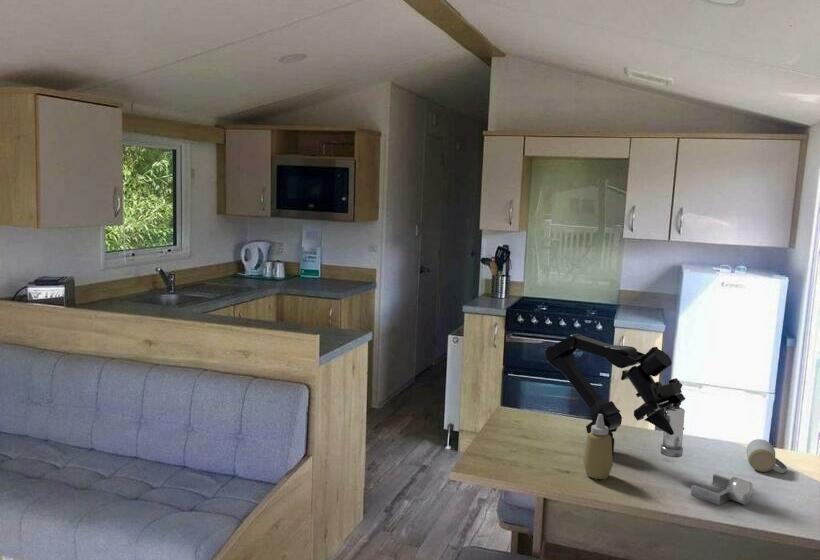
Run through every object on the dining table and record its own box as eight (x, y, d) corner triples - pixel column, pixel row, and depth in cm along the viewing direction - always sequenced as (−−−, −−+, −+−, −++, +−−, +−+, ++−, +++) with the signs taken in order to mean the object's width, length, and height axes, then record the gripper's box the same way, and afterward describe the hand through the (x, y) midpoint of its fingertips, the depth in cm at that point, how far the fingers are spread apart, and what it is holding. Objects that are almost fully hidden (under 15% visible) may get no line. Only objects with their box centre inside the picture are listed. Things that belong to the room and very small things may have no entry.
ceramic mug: (746, 470, 198) (749, 445, 196) (745, 460, 205) (747, 436, 204) (788, 478, 193) (791, 452, 192) (784, 467, 201) (787, 443, 200)
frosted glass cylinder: (664, 456, 188) (667, 411, 187) (657, 449, 194) (661, 405, 193) (685, 457, 188) (688, 412, 186) (678, 450, 194) (681, 406, 192)
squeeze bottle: (596, 484, 186) (599, 421, 184) (576, 473, 193) (579, 412, 191) (618, 479, 190) (622, 417, 187) (597, 468, 197) (601, 408, 194)
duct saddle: (690, 494, 180) (692, 473, 180) (714, 482, 189) (716, 462, 188) (734, 511, 172) (736, 488, 171) (757, 497, 180) (759, 476, 179)
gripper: (646, 375, 185) (681, 425, 178) (681, 365, 197) (715, 411, 190) (619, 395, 192) (651, 444, 185) (655, 385, 204) (686, 430, 197)
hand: (677, 432), depth 189 cm, fingers closed on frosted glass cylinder, 5 cm apart
